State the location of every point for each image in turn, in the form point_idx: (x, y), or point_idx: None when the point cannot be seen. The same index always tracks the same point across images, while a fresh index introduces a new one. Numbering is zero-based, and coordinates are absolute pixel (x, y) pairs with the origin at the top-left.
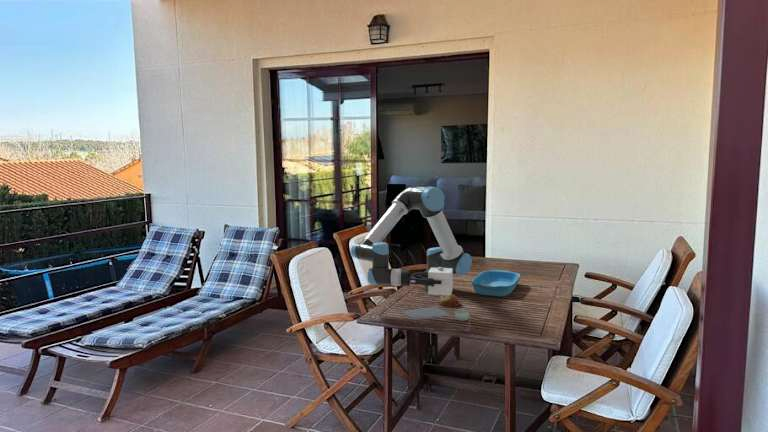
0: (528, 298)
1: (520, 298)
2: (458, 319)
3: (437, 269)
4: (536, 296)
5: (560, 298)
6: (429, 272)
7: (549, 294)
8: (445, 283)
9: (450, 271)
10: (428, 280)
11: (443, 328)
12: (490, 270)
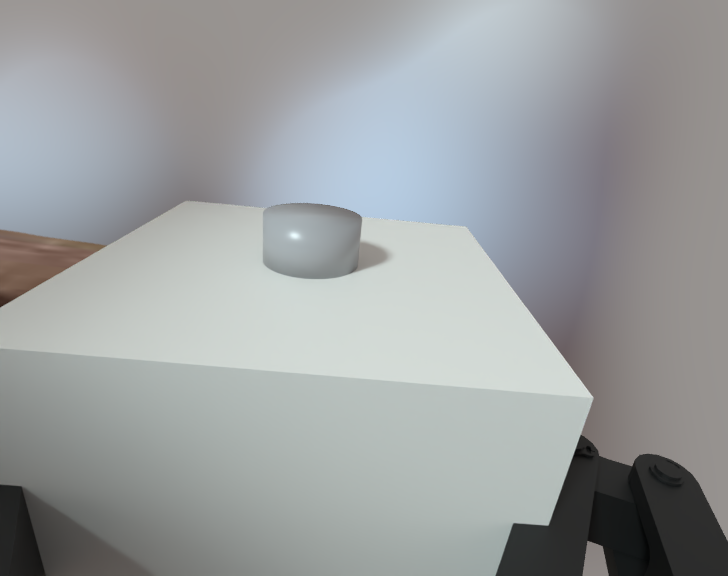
0: (23, 288)
1: (5, 302)
2: None
3: (252, 279)
4: (10, 272)
5: (76, 247)
6: (574, 380)
7: (9, 252)
8: None
9: (384, 222)
10: (711, 512)
11: None
12: None
